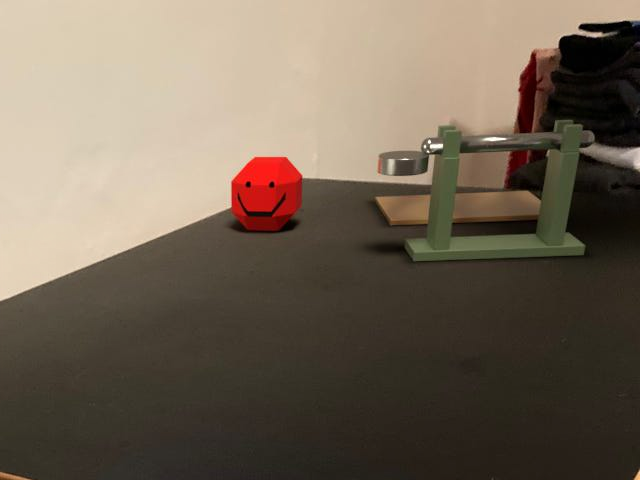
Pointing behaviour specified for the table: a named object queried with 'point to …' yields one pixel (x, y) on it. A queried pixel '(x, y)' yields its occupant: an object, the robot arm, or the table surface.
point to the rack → (541, 244)
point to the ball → (266, 193)
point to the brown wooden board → (463, 207)
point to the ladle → (471, 149)
